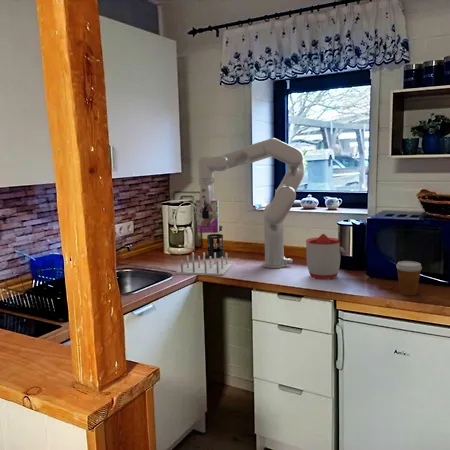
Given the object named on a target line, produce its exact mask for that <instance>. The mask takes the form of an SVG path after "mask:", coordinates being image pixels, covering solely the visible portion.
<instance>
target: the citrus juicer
mask: <svg viewBox="0 0 450 450" xmlns="http://www.w3.org/2000/svg"><path fill="white" fill-rule="evenodd" d="M305 242H306V266H307V269H308V273H309V276H310V277H311V278H313V279H314V278H315V279H314V280H333V279H335V278H337V276H338V273H339V271H340V270H339V269H340V265H341V252H342V253H345V252H346V251H345V250H344V247H342V246H341V241H340V239H339V238H335V237H328V236H327V235H326V234H325V233H321V235H319V237H312V238H307V239H306V240H305Z"/></svg>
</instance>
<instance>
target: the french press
mask: <svg viewBox="0 0 450 450" xmlns="http://www.w3.org/2000/svg"><path fill="white" fill-rule="evenodd" d="M222 231H223V226H222V225H219V232H222ZM206 239H207V257H208V258H209V256H211V259H214V253H216V259H221V257H223V258H224V257H225V254H224V252H225V251H224V235H223V234H222V233H221V234H220V233H211V234H206ZM220 241H221V243H220Z"/></svg>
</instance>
